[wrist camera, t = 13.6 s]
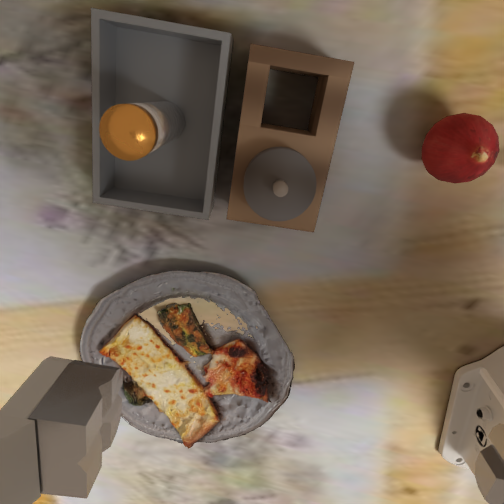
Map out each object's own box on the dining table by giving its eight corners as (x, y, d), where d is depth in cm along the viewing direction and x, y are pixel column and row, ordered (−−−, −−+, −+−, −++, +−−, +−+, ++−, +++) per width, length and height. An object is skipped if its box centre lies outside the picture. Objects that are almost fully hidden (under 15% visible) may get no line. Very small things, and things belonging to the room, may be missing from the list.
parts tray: (213, 206, 38) (208, 220, 34) (110, 190, 38) (92, 202, 34) (233, 40, 33) (230, 33, 28) (111, 18, 32) (90, 7, 28)
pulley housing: (306, 215, 39) (318, 243, 32) (229, 203, 38) (224, 229, 31) (340, 66, 33) (363, 59, 26) (250, 50, 33) (250, 39, 26)
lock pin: (183, 143, 35) (152, 164, 24) (146, 137, 35) (99, 156, 24) (186, 104, 34) (155, 108, 23) (148, 98, 34) (99, 99, 23)
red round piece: (480, 118, 35) (540, 125, 28) (455, 178, 37) (505, 200, 30) (421, 105, 35) (466, 109, 27) (399, 167, 37) (436, 186, 30)
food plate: (320, 393, 48) (325, 414, 45) (168, 452, 53) (162, 476, 49) (223, 229, 40) (219, 240, 37) (53, 316, 45) (37, 333, 41)
